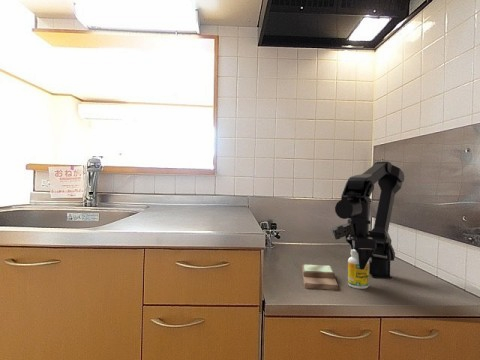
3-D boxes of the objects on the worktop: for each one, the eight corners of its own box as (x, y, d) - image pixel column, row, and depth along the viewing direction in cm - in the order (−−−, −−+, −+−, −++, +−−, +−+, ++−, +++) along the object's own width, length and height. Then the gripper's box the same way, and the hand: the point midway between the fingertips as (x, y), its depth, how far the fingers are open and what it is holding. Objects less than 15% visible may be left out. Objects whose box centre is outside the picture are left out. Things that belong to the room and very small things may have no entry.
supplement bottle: (361, 282, 110) (361, 247, 110) (373, 288, 104) (373, 252, 104) (343, 283, 109) (344, 248, 108) (354, 289, 102) (355, 253, 102)
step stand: (330, 274, 118) (330, 265, 118) (337, 289, 102) (338, 279, 102) (302, 273, 119) (302, 264, 119) (304, 287, 104) (304, 277, 103)
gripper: (329, 212, 116) (328, 257, 116) (337, 219, 98) (336, 272, 98) (362, 213, 115) (361, 258, 115) (377, 220, 96) (376, 274, 96)
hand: (358, 265), depth 106 cm, fingers open, 9 cm apart
